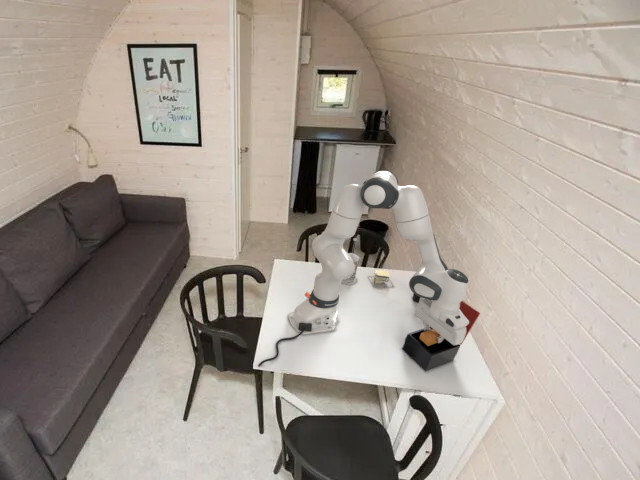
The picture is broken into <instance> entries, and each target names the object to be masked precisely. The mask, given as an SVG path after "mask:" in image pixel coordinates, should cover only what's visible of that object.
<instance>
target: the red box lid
mask: <svg viewBox="0 0 640 480" xmlns="http://www.w3.org/2000/svg"><path fill="white" fill-rule="evenodd" d="M459 309H460V310H461V312H462V313H463V314H464V316H465V317H466V318H467V319H468V320H469V324H468V325H467V326H465V327H466V329H467V331H466V335H465V338H464V340H463V342H462V343H461V344H459V345H461V346H462V345H463V343H464V341H465V340H466V338H467V337H468V335H469V334H470V331H471V330H472V328H473V327H474V324H475V323H476V321H477V320H478V318H479V316H480V314H481V312H479V311H478V310H477V309H475V308H474V307H472V306H470V305H469V304H468V303H467V302H465V301H463V300H462V301H461V303H460V308H459Z"/></svg>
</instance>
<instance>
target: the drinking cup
mask: <svg viewBox="0 0 640 480" xmlns="http://www.w3.org/2000/svg"><path fill="white" fill-rule="evenodd" d="M419 300H420V297H419V296H417V295H415V294H414V293H413V296H412V301H413V302H415V303H417V304H418V303H419Z"/></svg>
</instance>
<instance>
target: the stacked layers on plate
mask: <svg viewBox="0 0 640 480" xmlns="http://www.w3.org/2000/svg"><path fill="white" fill-rule="evenodd" d="M390 276H391V273H389V272H388V271H387V270H384V269H381V270H380V269H379V270H374V275H373V276H369V277H368V279H369V281H370V282H371V284H372V286H373V288H393V287H394V286H393V285H392V283H391V281H390V278H391V277H390Z"/></svg>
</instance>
